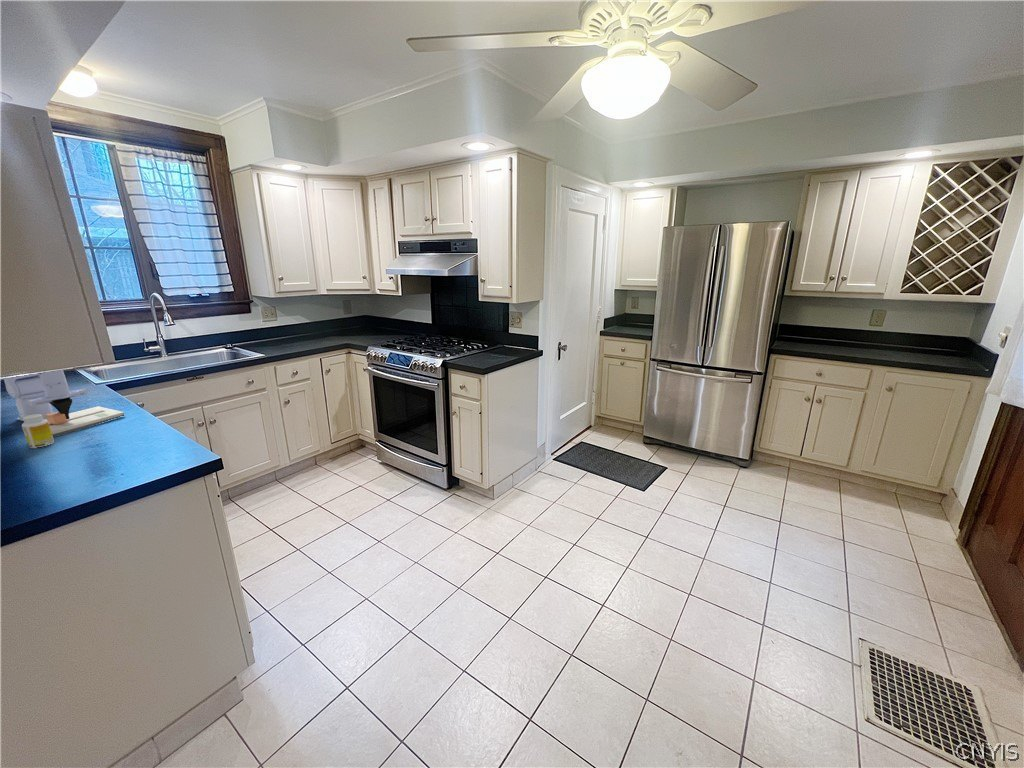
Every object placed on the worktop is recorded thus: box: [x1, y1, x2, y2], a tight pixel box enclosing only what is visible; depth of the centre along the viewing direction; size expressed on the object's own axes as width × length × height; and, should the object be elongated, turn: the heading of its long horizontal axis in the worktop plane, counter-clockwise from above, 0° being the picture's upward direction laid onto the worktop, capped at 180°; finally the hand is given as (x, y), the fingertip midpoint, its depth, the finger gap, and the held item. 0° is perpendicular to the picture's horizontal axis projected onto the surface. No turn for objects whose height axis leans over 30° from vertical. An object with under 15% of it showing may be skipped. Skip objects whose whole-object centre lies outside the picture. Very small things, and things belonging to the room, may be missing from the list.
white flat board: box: [45, 405, 126, 437], centre depth 149 cm, size 16×20×2 cm
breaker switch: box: [45, 411, 67, 425], centre depth 143 cm, size 5×3×4 cm, turn 70°
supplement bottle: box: [21, 414, 55, 449], centre depth 130 cm, size 6×6×10 cm
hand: (66, 418), depth 146 cm, fingers closed
